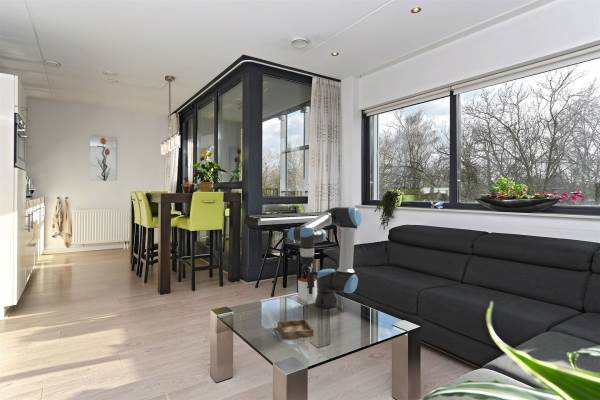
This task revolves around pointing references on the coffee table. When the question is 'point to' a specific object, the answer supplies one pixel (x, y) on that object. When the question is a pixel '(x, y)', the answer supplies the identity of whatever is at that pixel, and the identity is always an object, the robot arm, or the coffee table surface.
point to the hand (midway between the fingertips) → (307, 296)
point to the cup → (305, 289)
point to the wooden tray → (295, 329)
